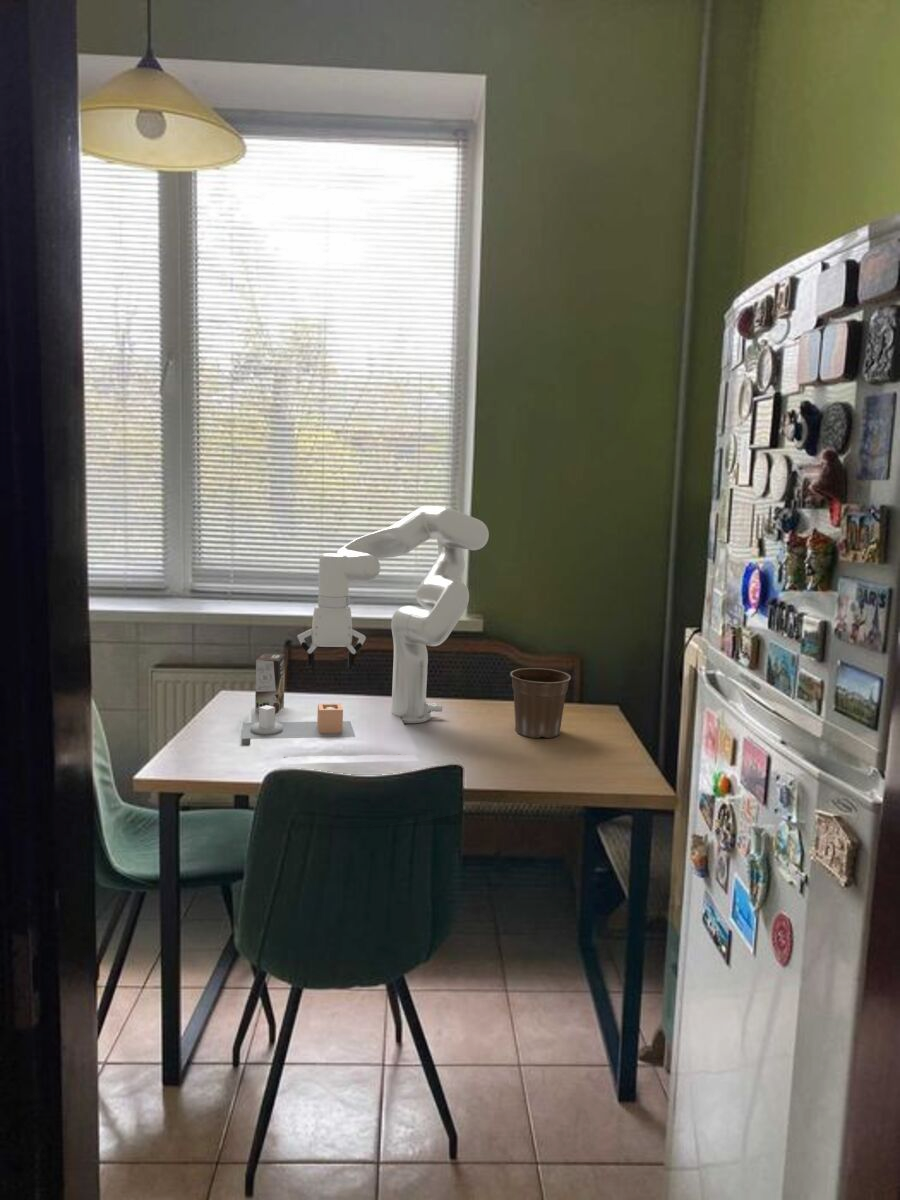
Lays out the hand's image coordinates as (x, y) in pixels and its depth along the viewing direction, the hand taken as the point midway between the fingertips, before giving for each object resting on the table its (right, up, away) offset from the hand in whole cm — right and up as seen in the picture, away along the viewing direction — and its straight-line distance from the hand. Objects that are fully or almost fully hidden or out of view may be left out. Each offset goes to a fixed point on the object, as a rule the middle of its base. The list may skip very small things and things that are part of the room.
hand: (330, 667), depth 223 cm
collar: (-1, -16, +3) cm, 16 cm away
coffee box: (-20, -14, +19) cm, 31 cm away
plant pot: (+54, -19, +14) cm, 59 cm away
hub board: (-9, -17, +1) cm, 19 cm away
